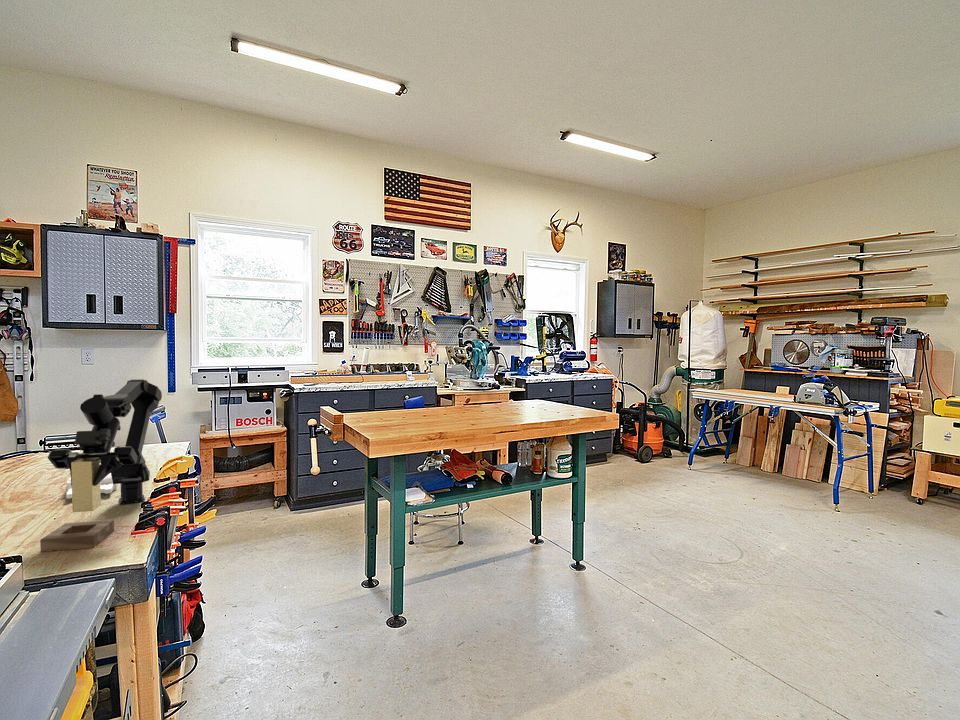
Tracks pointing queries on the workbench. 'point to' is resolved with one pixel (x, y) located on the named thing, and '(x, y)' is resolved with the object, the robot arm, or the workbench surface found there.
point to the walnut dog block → (77, 535)
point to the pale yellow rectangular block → (85, 485)
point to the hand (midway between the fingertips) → (83, 485)
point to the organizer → (105, 486)
